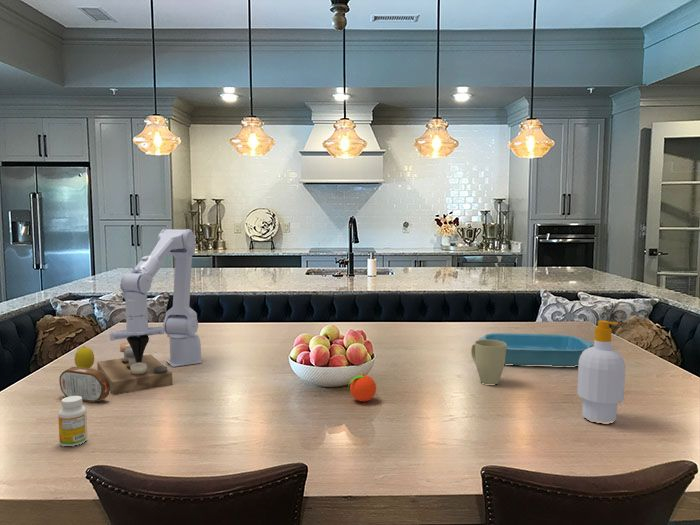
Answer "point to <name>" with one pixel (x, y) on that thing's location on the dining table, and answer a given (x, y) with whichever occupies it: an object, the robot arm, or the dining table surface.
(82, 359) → the lemon
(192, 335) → the robot arm
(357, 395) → the clementine
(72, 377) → the tin
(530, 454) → the dining table surface
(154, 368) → the board
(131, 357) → the knob slate
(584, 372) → the soap bottle
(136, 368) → the knob cream
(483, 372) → the mug
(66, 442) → the supplement bottle
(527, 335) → the casserole dish
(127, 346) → the peach pink ball
